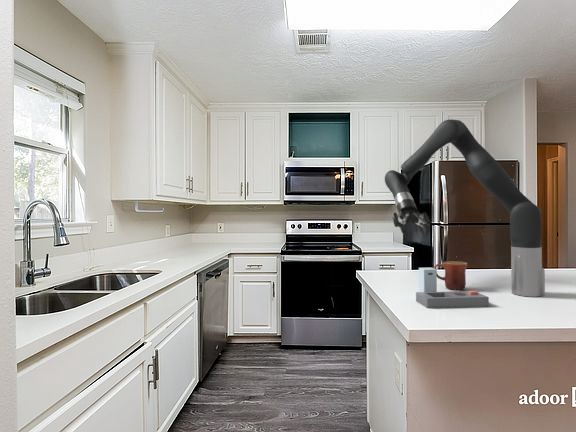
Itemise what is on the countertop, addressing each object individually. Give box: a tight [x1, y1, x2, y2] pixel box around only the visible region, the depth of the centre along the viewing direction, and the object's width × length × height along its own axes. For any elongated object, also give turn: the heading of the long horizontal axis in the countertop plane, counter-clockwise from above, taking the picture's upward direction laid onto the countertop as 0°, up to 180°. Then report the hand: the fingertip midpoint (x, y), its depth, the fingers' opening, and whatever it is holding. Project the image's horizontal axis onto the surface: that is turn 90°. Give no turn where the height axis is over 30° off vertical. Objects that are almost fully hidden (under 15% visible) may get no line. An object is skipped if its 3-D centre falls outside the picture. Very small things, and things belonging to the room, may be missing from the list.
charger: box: [418, 267, 438, 292], centre depth 129 cm, size 4×5×10 cm
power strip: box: [415, 290, 490, 309], centre depth 119 cm, size 20×9×4 cm, turn 92°
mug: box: [433, 260, 468, 291], centre depth 141 cm, size 12×9×10 cm
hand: (416, 233), depth 142 cm, fingers open, 8 cm apart
